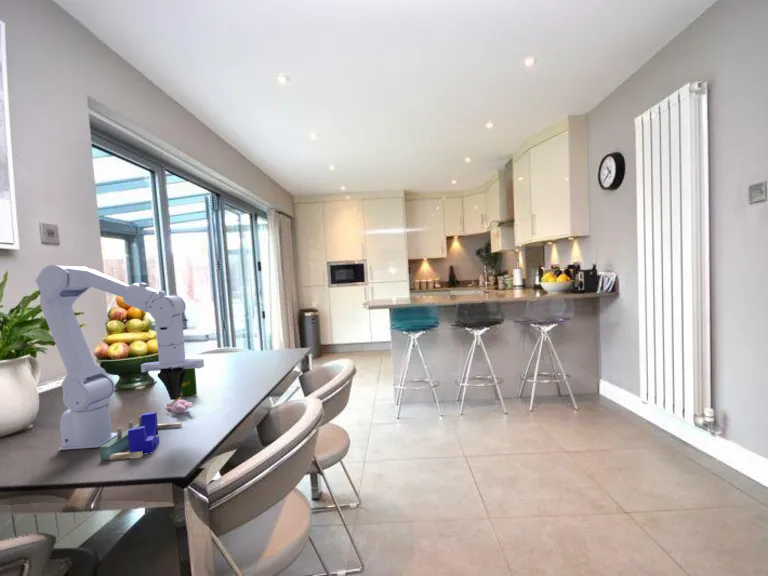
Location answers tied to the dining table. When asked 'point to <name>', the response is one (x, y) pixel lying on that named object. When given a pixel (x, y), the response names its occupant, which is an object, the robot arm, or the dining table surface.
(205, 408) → the dining table surface
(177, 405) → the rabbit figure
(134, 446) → the cable clip
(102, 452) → the pin bay
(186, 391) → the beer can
